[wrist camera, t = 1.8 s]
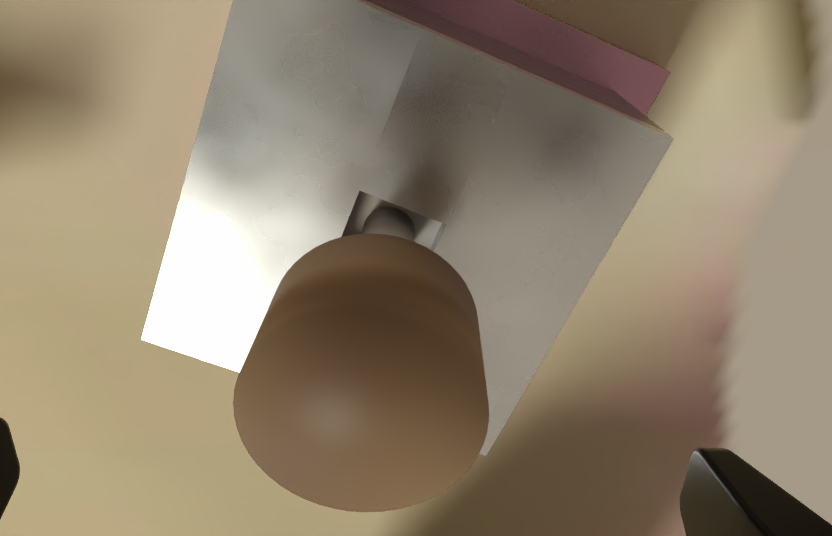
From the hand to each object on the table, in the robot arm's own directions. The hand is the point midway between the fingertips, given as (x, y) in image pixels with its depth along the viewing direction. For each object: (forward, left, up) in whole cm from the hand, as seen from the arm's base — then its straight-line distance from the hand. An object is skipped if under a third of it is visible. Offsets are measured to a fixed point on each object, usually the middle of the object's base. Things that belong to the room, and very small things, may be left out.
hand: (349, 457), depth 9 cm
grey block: (0, 0, -12) cm, 12 cm away
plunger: (0, 0, -8) cm, 8 cm away
